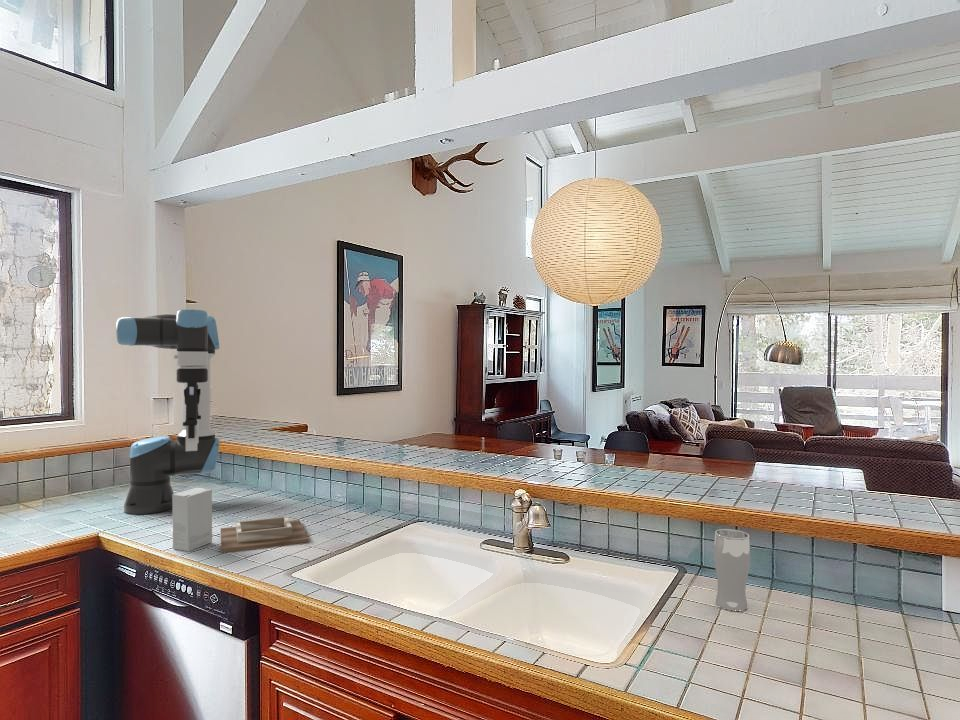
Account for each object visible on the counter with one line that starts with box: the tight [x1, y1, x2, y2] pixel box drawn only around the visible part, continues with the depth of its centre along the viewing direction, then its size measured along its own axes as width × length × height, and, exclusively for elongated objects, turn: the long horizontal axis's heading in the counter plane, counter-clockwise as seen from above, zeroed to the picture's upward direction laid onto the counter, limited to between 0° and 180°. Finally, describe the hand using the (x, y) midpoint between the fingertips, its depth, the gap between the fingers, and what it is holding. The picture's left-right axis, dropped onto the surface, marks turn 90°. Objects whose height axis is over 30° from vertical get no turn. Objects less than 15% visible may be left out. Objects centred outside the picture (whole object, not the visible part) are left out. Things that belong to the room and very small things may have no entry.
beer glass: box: [713, 528, 751, 612], centre depth 123 cm, size 7×7×15 cm
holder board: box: [220, 515, 310, 554], centre depth 167 cm, size 20×22×4 cm
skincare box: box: [172, 487, 213, 552], centre depth 159 cm, size 8×6×15 cm
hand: (192, 447), depth 158 cm, fingers open, 13 cm apart
